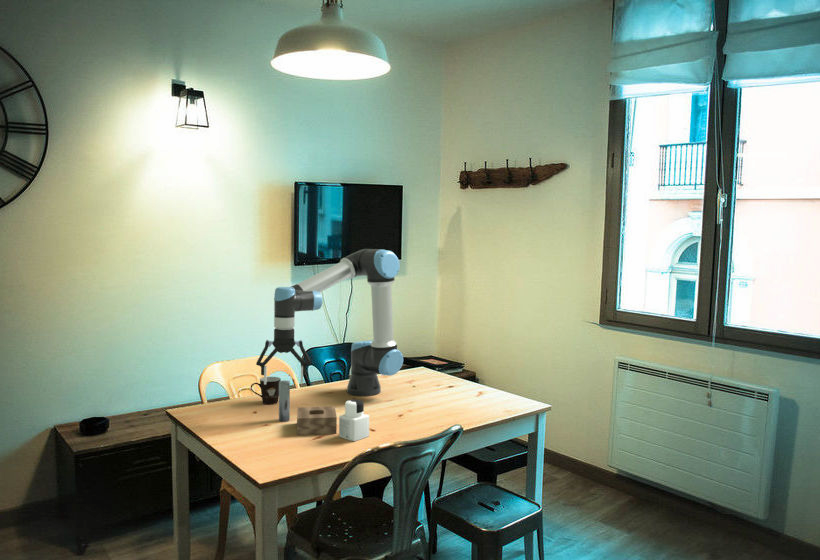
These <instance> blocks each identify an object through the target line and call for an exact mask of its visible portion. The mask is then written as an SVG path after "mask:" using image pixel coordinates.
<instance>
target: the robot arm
mask: <svg viewBox="0 0 820 560" xmlns="http://www.w3.org/2000/svg"><path fill="white" fill-rule="evenodd" d="M400 266H401V265H400V261H399V258H398V257H397V255H396V254H395V253H394V252H393V251H392V250H386V249H377V248H375V249H372V248H363V249H359V250H358V251H355V252H353V253H350V254H349V255H346V256H345V257H342V258H341V259H340V260H339V262H338V263H335V264H334V265H332V266H330V267H328V268H326V269H324V270H322V271H320V272H318V273H316V274H314V275H312V276H310V277H308V278H306V279H304V280H302V281H300V282H298V283H296V284H293V285H291V286H278V287H276V288H275V289H274V297H273V301H274V305H273V306H274V308H273V310H274V312H273V313H274V315H273V316H274V317H273V326H274V329H273V340H269V339H266V340H265V343H264V344H265V345H264V348H263V349H262V352H261V353H260V355H259V357H258V359H257V361H256V364H255V365H257V366H259V367H260V375H261V376H263V377H264V384H266V381H267V377H268V375H267V371H268V369H267V368H268V367H267V364H268V362H270V360H271V359H272V358H273V357H274V356H275V355H276V354H277V353H280V354H283V353H286V354H288V353H291V354H292V355H293V356H294V358H295V359H297V361H298V362H299V363H300V364H301V365H300V385H303V383H304V382H303V381H304V379H303V378H304V376H306V375H307V366H310V365H311V364H312V363H311V362H312V361H311V359H310V357H309V355H308V353H307V351H306V350H305V347H304V346H303V340H302V339H300V340H298V341H297V340H296V341H295V329H294V327H295V319H296V318H295V314H296V312H309V311H311V312H312V311H318V310H320V309H321V308H322V305H323V296H322V295H323V294H321V292H323V291H325V290H327V289H329V288H331V287H333V286H335V285H337V284H339V283H342V282H343V281H345V280H347V279H349V280H351V279H354V278H356V277H360V276H366V280H367V281H366V282H367V284H369V285H370V289H371V291H370V292H371V311H372V312H371V313H372V314H371V315H372V333H373V335H372V336H373V340H371V339H370V340H359V341H355V342H353V343H352V344H351V349H350V368H351V369H350V377H349V380H348V384H347V386H346V392H347V393H348V394H349V395H353V396H358V397H359V396H360V397H364V396H365V397H366V396H376V395H379V394H380V393H381V391H382V390H381V384H380V381H379V377H378V374H379V375H382V376H394V375H396V374H398V372H399V371H400V369H401V368H402V367H403V364H404V356H403V353H402V352H401V351H400V350H399V349H398V341H396V340H395V339H394V322H393V321H394V318H393V298H392V284H394V282H395V277H396V276H397V275H398V274H399V273H398V272H399V271H400ZM271 346H273V347H274V349H273V350H272V351H271V352H270V353H269V354H268V356H267V357H266V358H265V359H264V360H263V358H264V356H265V355H266V353H267V351H268V348H271ZM295 346H297V348H298V347H299V348H300V349H299V350H300V352H301V354H302V355H303V357H304V359H305V361H304V359H303V358H302V357H301V355H299V353H298V352H297V351H296V349H295V348H294V347H295ZM262 360H263V361H262Z"/></svg>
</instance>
